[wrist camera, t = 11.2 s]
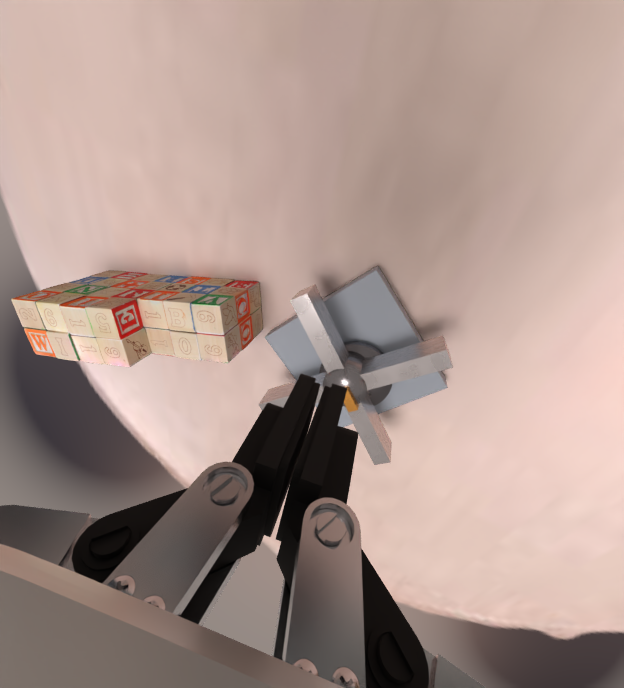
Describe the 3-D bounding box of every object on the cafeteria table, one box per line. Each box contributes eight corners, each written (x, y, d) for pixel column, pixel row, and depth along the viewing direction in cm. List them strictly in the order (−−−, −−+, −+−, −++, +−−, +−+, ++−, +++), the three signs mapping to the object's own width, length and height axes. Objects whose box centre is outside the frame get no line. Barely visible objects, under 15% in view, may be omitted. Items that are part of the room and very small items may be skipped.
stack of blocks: (260, 279, 37) (202, 317, 26) (264, 329, 40) (213, 382, 29) (108, 270, 42) (6, 298, 31) (121, 314, 45) (32, 355, 34)
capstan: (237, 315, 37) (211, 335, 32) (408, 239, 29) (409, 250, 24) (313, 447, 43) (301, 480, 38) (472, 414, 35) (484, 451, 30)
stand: (377, 265, 33) (376, 270, 31) (446, 379, 36) (448, 389, 35) (270, 330, 40) (263, 338, 38) (337, 421, 43) (334, 432, 41)
